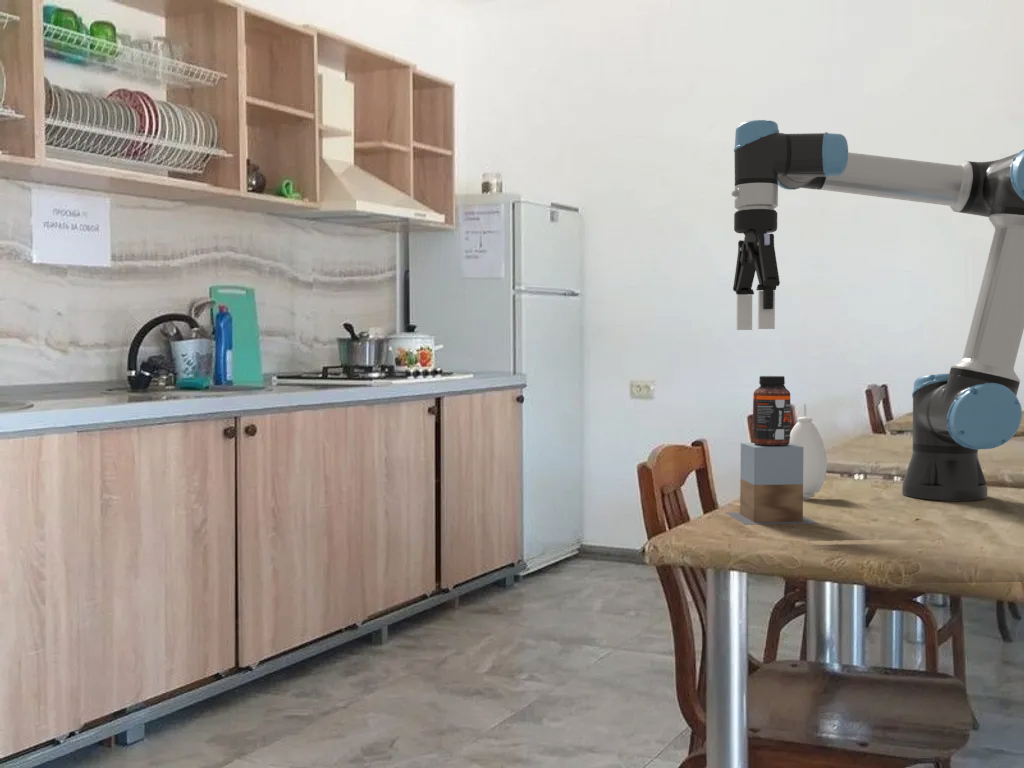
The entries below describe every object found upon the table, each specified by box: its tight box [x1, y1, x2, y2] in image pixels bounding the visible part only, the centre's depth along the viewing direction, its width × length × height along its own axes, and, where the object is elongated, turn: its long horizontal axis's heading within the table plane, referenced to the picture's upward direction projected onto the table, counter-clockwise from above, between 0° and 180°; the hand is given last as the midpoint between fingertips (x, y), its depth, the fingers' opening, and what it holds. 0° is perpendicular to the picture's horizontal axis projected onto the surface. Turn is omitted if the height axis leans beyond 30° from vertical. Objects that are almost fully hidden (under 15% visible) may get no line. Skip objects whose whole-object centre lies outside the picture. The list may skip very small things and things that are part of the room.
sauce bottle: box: [790, 403, 828, 501], centre depth 204 cm, size 8×8×18 cm
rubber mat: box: [725, 511, 820, 526], centre depth 178 cm, size 12×12×1 cm
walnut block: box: [739, 479, 804, 522], centre depth 178 cm, size 8×8×6 cm
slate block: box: [739, 442, 803, 485], centre depth 178 cm, size 8×8×6 cm
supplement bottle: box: [752, 375, 791, 446], centre depth 178 cm, size 6×6×11 cm
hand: (754, 329), depth 194 cm, fingers open, 13 cm apart
